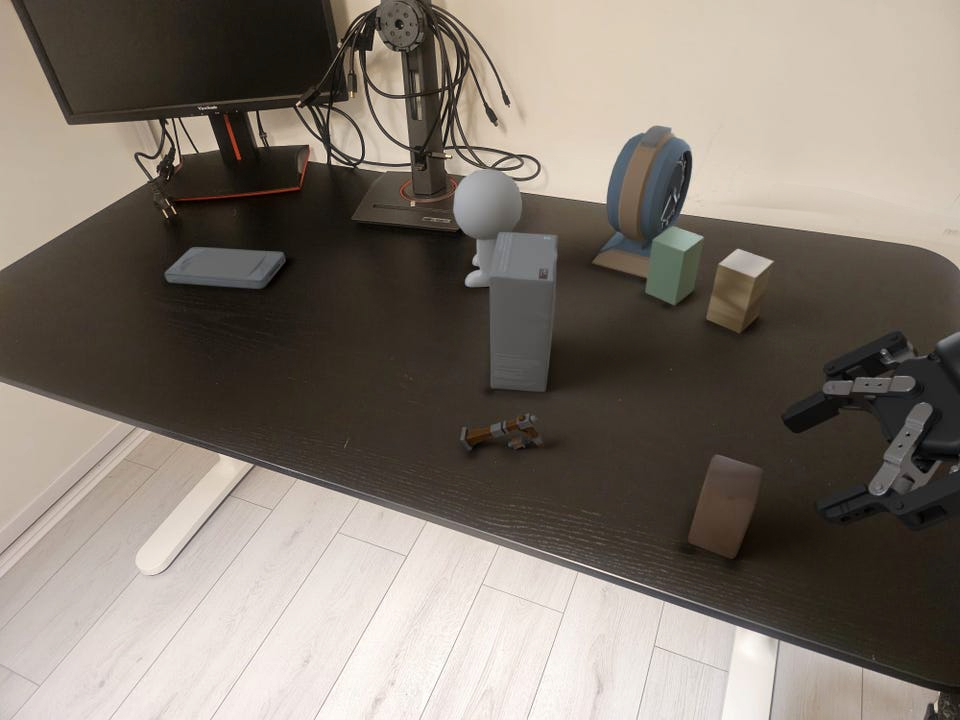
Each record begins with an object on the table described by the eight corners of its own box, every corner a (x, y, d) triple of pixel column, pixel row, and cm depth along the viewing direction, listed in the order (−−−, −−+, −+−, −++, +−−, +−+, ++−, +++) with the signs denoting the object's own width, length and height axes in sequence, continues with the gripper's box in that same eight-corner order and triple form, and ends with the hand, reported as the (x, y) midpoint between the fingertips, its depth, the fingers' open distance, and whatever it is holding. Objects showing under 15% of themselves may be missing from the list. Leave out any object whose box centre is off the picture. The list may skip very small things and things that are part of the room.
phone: (263, 289, 87) (260, 282, 86) (164, 282, 90) (160, 275, 89) (287, 259, 93) (285, 251, 92) (194, 253, 96) (191, 246, 95)
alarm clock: (655, 285, 82) (674, 157, 70) (588, 266, 86) (596, 143, 75) (691, 236, 91) (713, 115, 79) (628, 222, 95) (641, 105, 83)
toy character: (466, 254, 91) (458, 156, 81) (527, 257, 89) (526, 158, 79) (453, 289, 84) (442, 187, 74) (518, 293, 82) (516, 189, 73)
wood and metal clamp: (551, 448, 61) (532, 419, 58) (480, 466, 64) (459, 438, 61) (551, 435, 62) (533, 405, 59) (482, 452, 65) (461, 425, 62)
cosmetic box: (497, 344, 75) (491, 228, 64) (556, 346, 74) (559, 229, 63) (488, 392, 68) (480, 273, 58) (552, 396, 67) (555, 275, 57)
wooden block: (734, 562, 51) (756, 505, 46) (686, 544, 53) (702, 487, 48) (743, 525, 54) (765, 467, 49) (697, 508, 55) (713, 451, 50)
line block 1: (693, 290, 81) (704, 236, 75) (674, 305, 78) (684, 251, 73) (664, 278, 83) (672, 225, 78) (644, 292, 81) (652, 239, 76)
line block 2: (757, 316, 76) (774, 261, 70) (739, 334, 73) (755, 278, 68) (724, 302, 78) (737, 248, 73) (705, 319, 76) (718, 264, 71)
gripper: (966, 258, 42) (752, 377, 51) (1106, 408, 31) (804, 526, 40) (1011, 320, 45) (801, 423, 53) (1153, 477, 34) (862, 572, 43)
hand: (802, 467), depth 47 cm, fingers open, 8 cm apart
